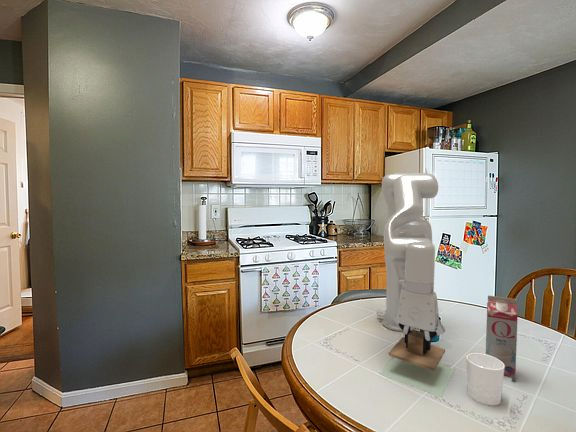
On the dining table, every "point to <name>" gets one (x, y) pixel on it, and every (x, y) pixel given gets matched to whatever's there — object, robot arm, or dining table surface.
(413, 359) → the lid
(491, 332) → the juice carton
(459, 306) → the dining table surface
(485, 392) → the white cup
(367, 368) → the dining table surface
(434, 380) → the mat
